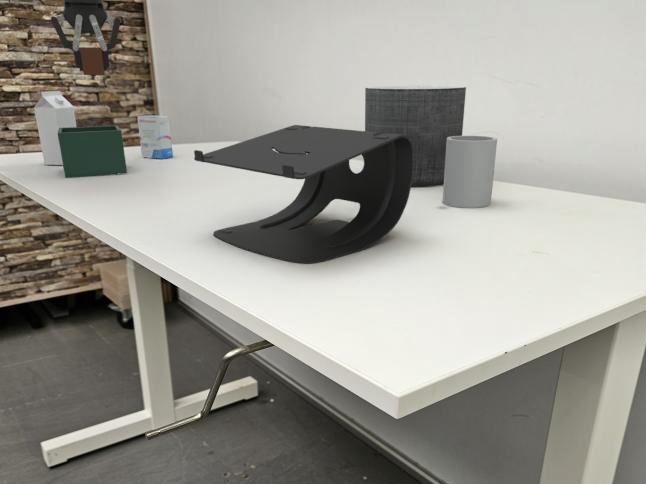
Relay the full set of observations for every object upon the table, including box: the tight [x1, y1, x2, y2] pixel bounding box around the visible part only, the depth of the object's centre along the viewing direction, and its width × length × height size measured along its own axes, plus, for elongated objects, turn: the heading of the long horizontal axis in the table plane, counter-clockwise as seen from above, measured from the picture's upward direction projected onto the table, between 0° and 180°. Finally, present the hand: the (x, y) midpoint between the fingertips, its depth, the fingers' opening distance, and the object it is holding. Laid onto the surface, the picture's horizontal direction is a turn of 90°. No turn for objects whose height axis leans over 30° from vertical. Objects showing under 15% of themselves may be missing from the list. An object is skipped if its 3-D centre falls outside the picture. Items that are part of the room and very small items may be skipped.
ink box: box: [136, 115, 174, 160], centre depth 178 cm, size 9×5×12 cm, turn 59°
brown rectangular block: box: [79, 47, 105, 76], centre depth 127 cm, size 4×10×5 cm, turn 20°
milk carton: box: [33, 90, 78, 166], centre depth 166 cm, size 7×7×19 cm
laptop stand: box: [193, 124, 413, 264], centre depth 93 cm, size 26×24×16 cm
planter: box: [364, 84, 467, 187], centre depth 138 cm, size 22×22×20 cm
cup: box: [442, 135, 498, 209], centre depth 115 cm, size 9×9×12 cm
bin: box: [58, 125, 128, 179], centre depth 155 cm, size 15×15×10 cm
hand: (93, 70), depth 128 cm, fingers closed on brown rectangular block, 4 cm apart
